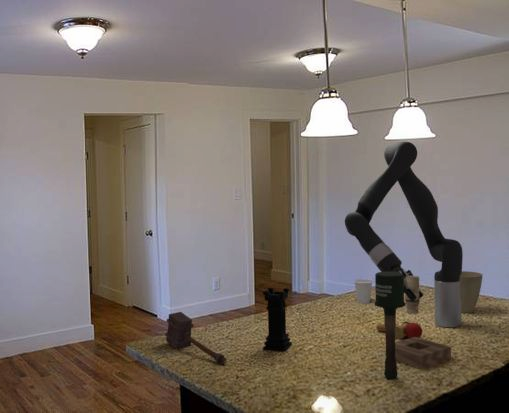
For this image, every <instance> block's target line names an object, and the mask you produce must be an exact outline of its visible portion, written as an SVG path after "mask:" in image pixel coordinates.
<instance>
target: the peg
mask: <svg viewBox="0 0 509 413" xmlns="http://www.w3.org/2000/svg"><path fill="white" fill-rule="evenodd" d="M405 278H406V284H407V285H408V287H409V289H411V291H412V292H413V293H414V294H415V295H416V297H417V298H416V299H415V300H414V301H411V300H410V299H409V298H408V297H407V295H406V294H405V297H404V302H405V304H406V313H407V314H410V315H411V314H412V315H416V314H419V305H420V301H421V300H420V299H421V298H420V299H419V290H420V276H418V275H413V276H406V277H405Z"/></svg>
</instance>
